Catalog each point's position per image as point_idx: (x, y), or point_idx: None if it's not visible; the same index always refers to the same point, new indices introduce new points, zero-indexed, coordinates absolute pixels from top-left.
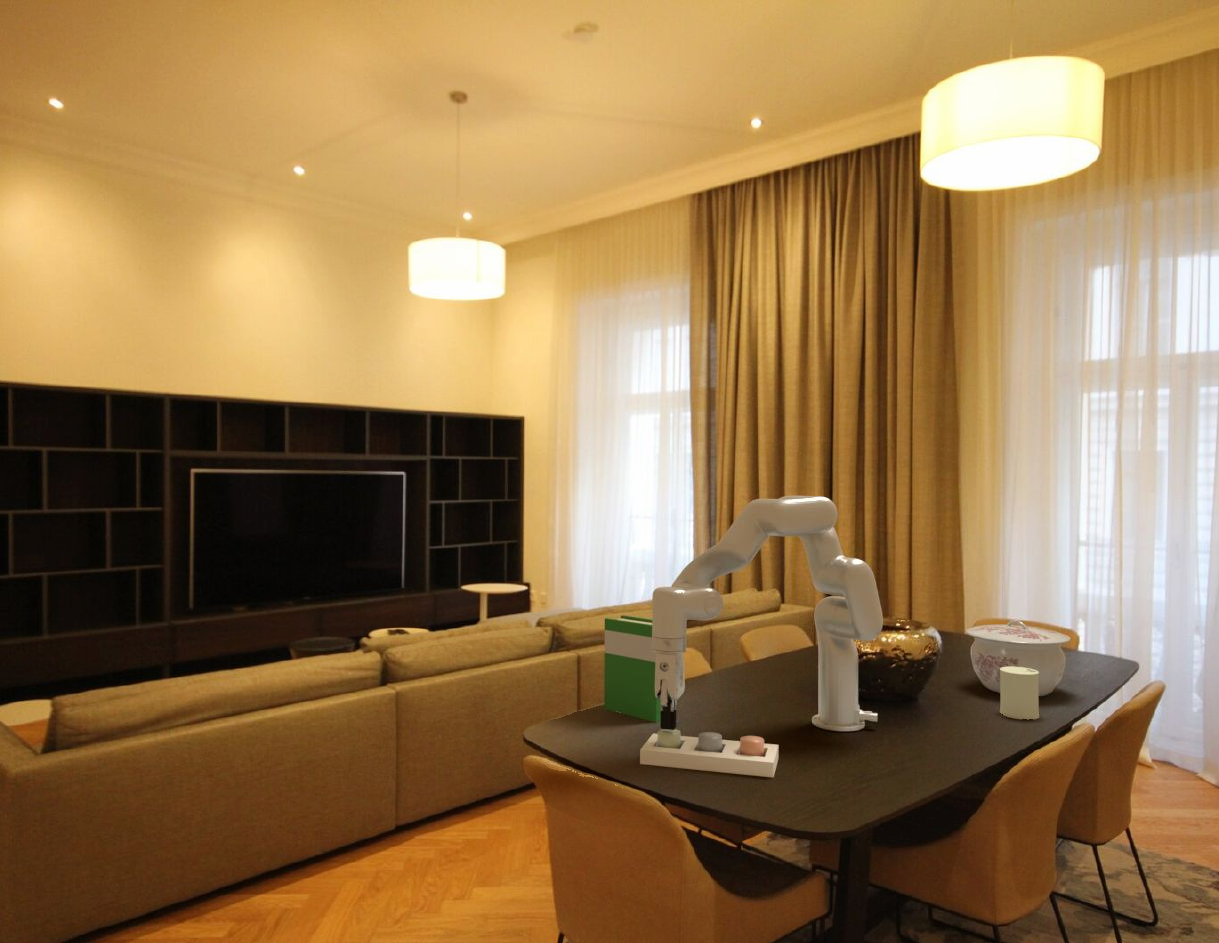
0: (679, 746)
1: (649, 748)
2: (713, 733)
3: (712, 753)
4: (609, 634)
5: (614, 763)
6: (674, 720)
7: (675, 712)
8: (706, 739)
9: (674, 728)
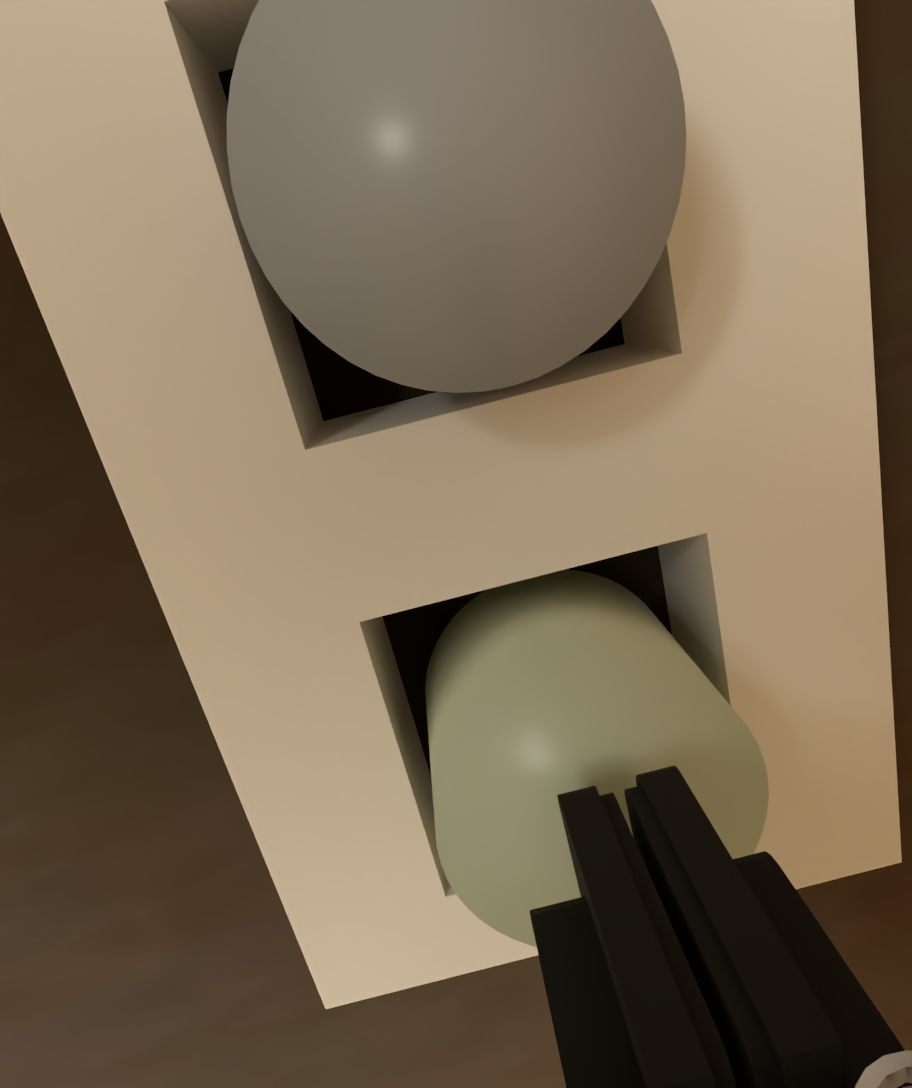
0: (569, 593)
1: (825, 811)
2: (300, 150)
3: (705, 29)
4: None
5: (880, 925)
6: (733, 875)
7: (680, 1030)
8: (678, 142)
9: (680, 773)
